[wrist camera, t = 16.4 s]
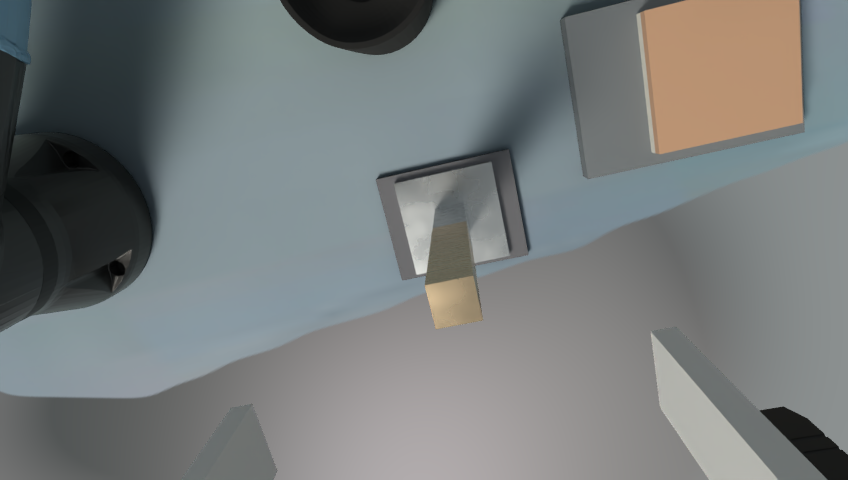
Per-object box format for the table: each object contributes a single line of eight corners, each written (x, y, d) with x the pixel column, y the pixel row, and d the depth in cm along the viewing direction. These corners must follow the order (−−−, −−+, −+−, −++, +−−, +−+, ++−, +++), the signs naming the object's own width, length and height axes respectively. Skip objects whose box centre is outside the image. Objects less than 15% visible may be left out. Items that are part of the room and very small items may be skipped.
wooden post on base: (417, 272, 43) (395, 387, 26) (394, 182, 41) (354, 243, 24) (509, 253, 42) (548, 359, 25) (490, 160, 40) (520, 207, 23)
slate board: (583, 176, 40) (588, 179, 39) (560, 20, 37) (564, 17, 36) (791, 130, 38) (804, 132, 37) (785, -37, 35) (799, -43, 34)
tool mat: (402, 278, 43) (402, 280, 43) (376, 178, 41) (375, 179, 41) (527, 253, 42) (528, 254, 42) (508, 148, 40) (508, 149, 39)
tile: (659, 154, 36) (802, 123, 35) (644, 10, 34) (798, -29, 33) (651, 152, 38) (789, 121, 37) (636, 14, 35) (783, -23, 34)
